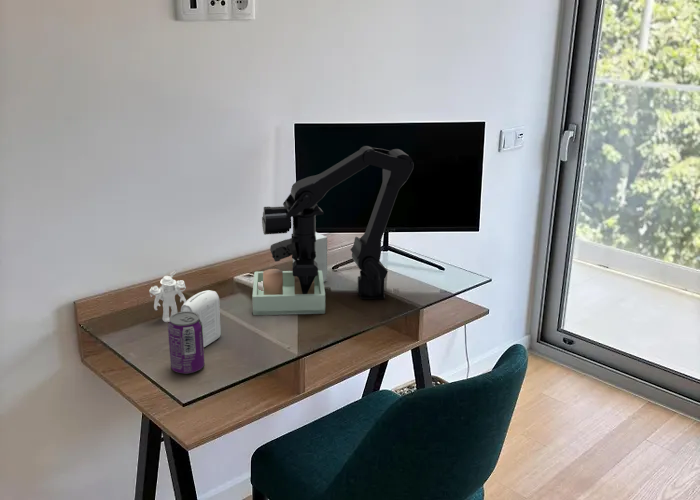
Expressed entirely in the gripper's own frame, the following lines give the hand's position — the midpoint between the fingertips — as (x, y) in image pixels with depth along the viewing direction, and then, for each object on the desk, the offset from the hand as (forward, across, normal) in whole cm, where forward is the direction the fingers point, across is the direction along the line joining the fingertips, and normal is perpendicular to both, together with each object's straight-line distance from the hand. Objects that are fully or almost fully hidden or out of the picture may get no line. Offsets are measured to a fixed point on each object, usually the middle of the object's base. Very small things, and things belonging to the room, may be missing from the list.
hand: (304, 288), depth 189 cm
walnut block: (+2, 0, 0) cm, 2 cm away
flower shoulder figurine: (+4, +9, -33) cm, 34 cm away
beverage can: (+4, +33, -26) cm, 42 cm away
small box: (+4, -14, +2) cm, 15 cm away
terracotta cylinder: (+2, 0, -8) cm, 8 cm away
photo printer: (+4, +22, -24) cm, 33 cm away
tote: (+4, 0, -4) cm, 5 cm away
